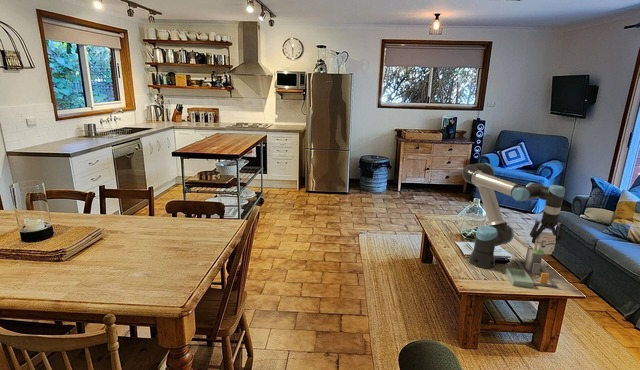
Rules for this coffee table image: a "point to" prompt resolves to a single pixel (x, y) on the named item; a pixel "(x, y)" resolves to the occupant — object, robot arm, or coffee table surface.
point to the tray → (519, 277)
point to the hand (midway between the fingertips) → (542, 249)
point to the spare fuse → (532, 259)
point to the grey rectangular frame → (535, 270)
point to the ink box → (545, 243)
